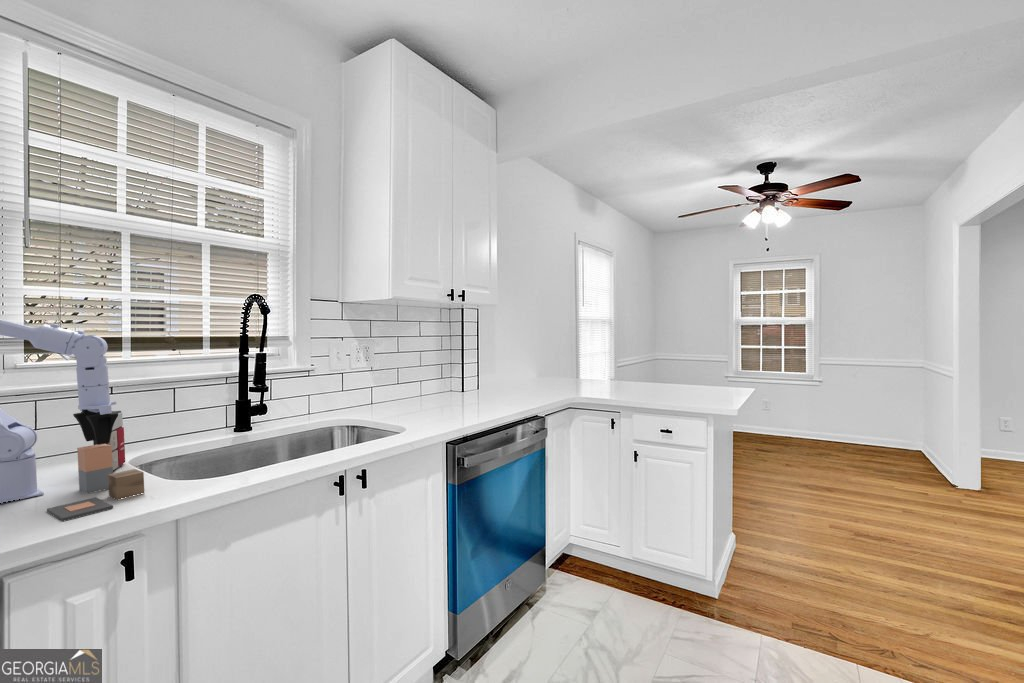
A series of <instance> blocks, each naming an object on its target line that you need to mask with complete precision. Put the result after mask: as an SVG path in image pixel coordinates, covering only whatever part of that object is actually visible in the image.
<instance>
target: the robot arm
mask: <svg viewBox="0 0 1024 683" xmlns="http://www.w3.org/2000/svg"><path fill="white" fill-rule="evenodd" d="M85 333H86V332H85V331H84V330H78V331H76V330H75V331H74V330H71V329H67V328H62V327H60V324H57V323H51V324H47V323H45V324H42V325H39V326H35V327H33V326H30V325H26V324H22V323H18V322H14V321H9V320H8V319H2V318H0V336H5V337H10V338H13V339H14V338H15V339H19V340H26V341H28V342H30V344H31V345H32V346H33V348H35V349H38V350H42V351H48V352H52V353H57V354H61V355H65V356H71V355H73V356H74V357H75V358H76V359H75V362H76V369H75V371H76V381H77V382H76V383H77V394H78V396H77V398H78V406H77V409H78V410H79V411H80V412H75V413H73V415H72V416H73V417H74V418H75V419H76V421H77V422H78V424H79V426H80V428H81V431H82V434H83V438H84V439H85V442H93V440H96V442H97V444H98V445H100V444H106V443H109V442H110V438H111V433H112V428H113V425H114V422H115V420H116V418H117V417H118V413H112V411H113V410H112V406H114V405H117V401H116V400H113V401H111V400H110V399H111V396H110V383H109V381H110V380H109V369H108V368H109V367H108V364H107V360H108V359H107V356H106V353H107V352H108V349H109V347H108V343H107V341H106V339H104V338H102V337H100V336H98V335H96V334H88V335H85ZM110 413H111V414H110ZM37 441H38V434H37V432H36V430H35V429H33V428H32V426H28V425H25V424H22V423H21V422H20V421H19V420H18V419H17V418H16V417H14V416H12V415H9V414H8V413H6V412H5V411H4V410H3V408H1V407H0V503H1V504H4V503H3V502H6V503H9V502H8V501H11V502H14V501H13V500H15V501H20V500H24V499H28V498H34V497H37V496H42V495H44V494H45V493H44V491H42V490H40V489H39V488H38V480H37V479H38V476H37V459H36V458H37V456H36V452H35V451H34V449H33V448H32V447H34V446H35V445H36V442H37ZM19 499H20V500H19Z"/></svg>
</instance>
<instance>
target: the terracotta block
mask: <svg viewBox="0 0 1024 683" xmlns="http://www.w3.org/2000/svg"><path fill="white" fill-rule="evenodd" d="M76 449H77V468H78V469H79V470H82V471H84V472H89V471H94V470H99V469H104V468H109V467H113V464H112V446H111V445H107V444H100V445H93V444H92V445H87V446H79V447H77V448H76Z"/></svg>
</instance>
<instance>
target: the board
mask: <svg viewBox="0 0 1024 683" xmlns="http://www.w3.org/2000/svg"><path fill="white" fill-rule="evenodd" d="M112 508H113V509H114V505H113V504H111V503H109V502H106V501H104V500H103V499H100V498H98V497H97V496H95V497H91V498H87V499H82V500H78V501H74V502H70V503H65V504H61V505H57V506H52V507H48V508H46V512H47V513H48V512H49V513H48V514H50V515H51V514H52V515H51V516H53V515H54V516H53V517H55V518H56V517H57V520H59V521H61V520H62V521H61V522H65V521H64V520H66V521H69V520H68V519H70V520H73V519H72V518H74V519H77V518H76V517H78V518H80V517H79V516H81V517H84V516H83V515H85V516H88V515H87V514H89V515H92V514H91V513H93V514H96V513H95V512H97V513H100V512H99V511H101V512H103V510H105V511H108V510H107V509H109V510H112Z"/></svg>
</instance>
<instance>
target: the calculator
mask: <svg viewBox="0 0 1024 683" xmlns="http://www.w3.org/2000/svg"><path fill="white" fill-rule="evenodd" d="M112 413H118V417H117V418H116V420H115V422H114V425H113V428H112V433H111V438H110V442H109V443H106V444H107V445H111V446H112V464H113V470H114V471H115V470H117V469H119V467H121V466H123V464H125V463H126V448H125V429H124V428H125V427H124V423H123V422H124V420H123V419H124V418H123V412H122V411H121V410H112ZM110 414H111V413H110ZM92 445H98V444H97V442H96V440H93V441H92Z"/></svg>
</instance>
